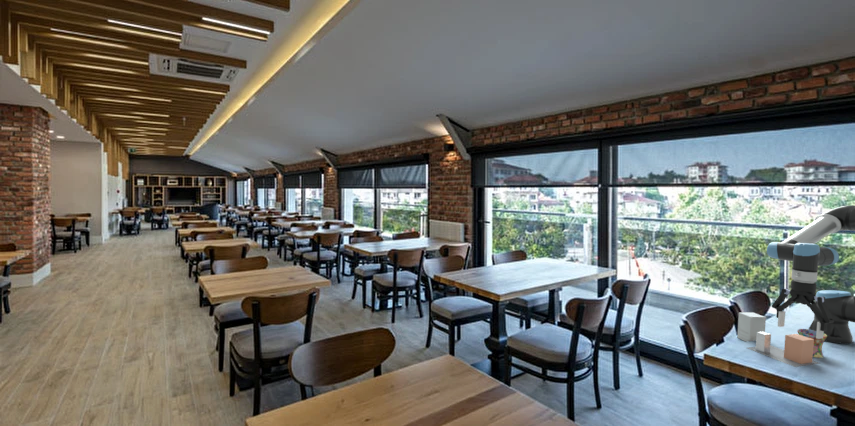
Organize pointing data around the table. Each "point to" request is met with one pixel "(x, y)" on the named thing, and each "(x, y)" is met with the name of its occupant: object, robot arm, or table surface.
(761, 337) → the post
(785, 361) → the board
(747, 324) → the supplement box
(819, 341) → the mug
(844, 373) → the table surface
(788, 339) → the peach tan brick
